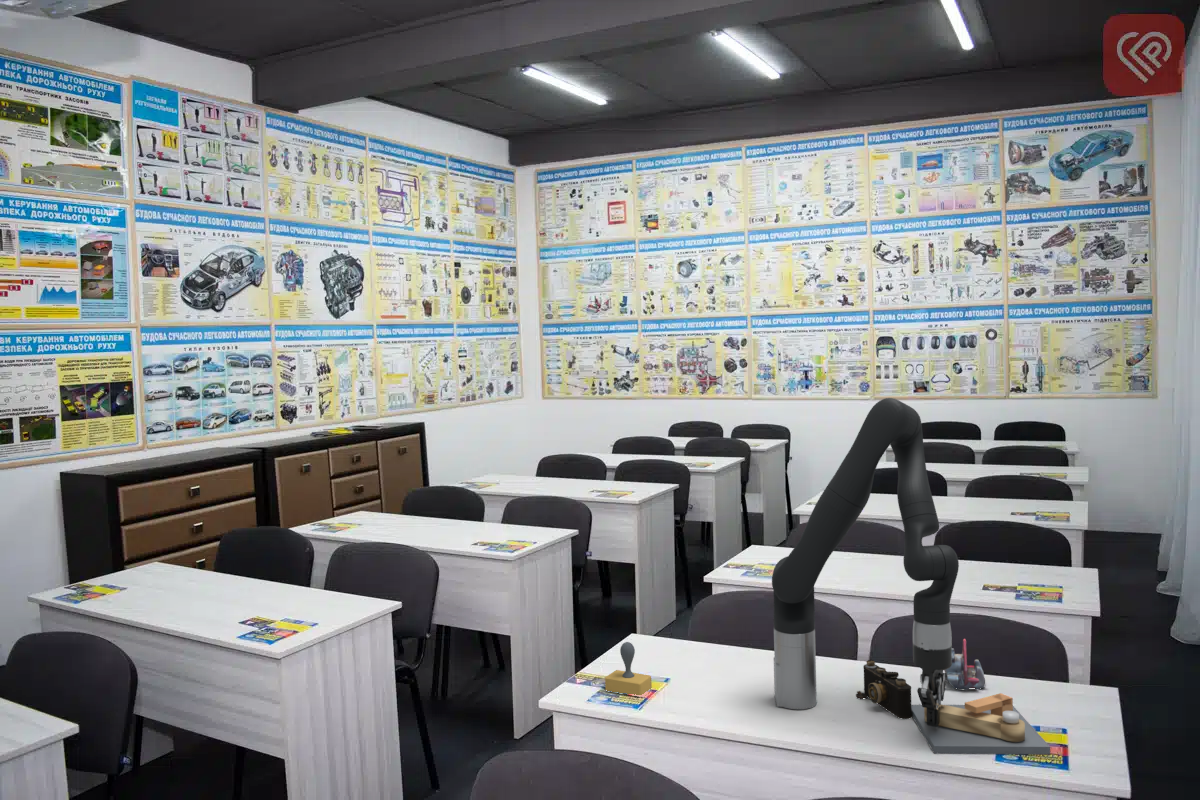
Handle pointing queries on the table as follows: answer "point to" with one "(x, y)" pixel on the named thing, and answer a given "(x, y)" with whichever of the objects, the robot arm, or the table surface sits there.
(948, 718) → the latch lever
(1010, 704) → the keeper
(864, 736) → the table surface
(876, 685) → the camera
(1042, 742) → the base plate
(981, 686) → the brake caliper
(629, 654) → the rubber stamp
